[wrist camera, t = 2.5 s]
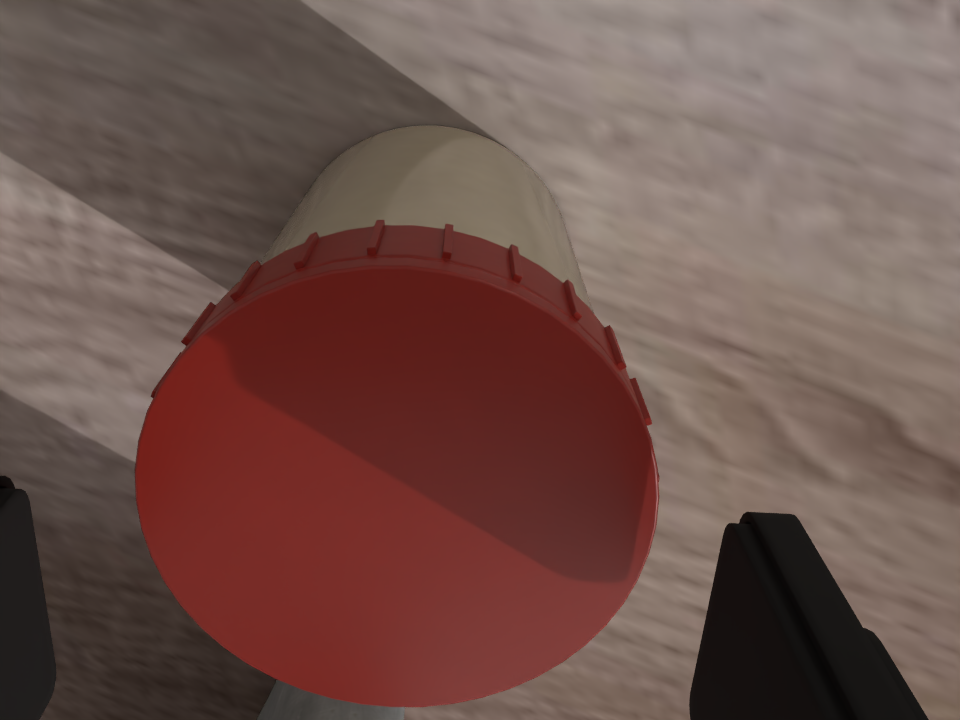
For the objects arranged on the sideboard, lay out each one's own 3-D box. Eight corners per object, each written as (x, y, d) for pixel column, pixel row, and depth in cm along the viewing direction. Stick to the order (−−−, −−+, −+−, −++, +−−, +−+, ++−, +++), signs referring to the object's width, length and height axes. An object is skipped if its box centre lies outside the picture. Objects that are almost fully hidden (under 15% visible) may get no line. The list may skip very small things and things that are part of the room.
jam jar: (287, 115, 19) (137, 252, 11) (584, 134, 20) (673, 285, 11) (294, 382, 22) (177, 666, 13) (555, 397, 22) (607, 685, 14)
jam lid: (150, 202, 12) (100, 242, 10) (674, 235, 12) (705, 279, 10) (187, 619, 15) (153, 700, 13) (609, 638, 15) (626, 721, 13)
